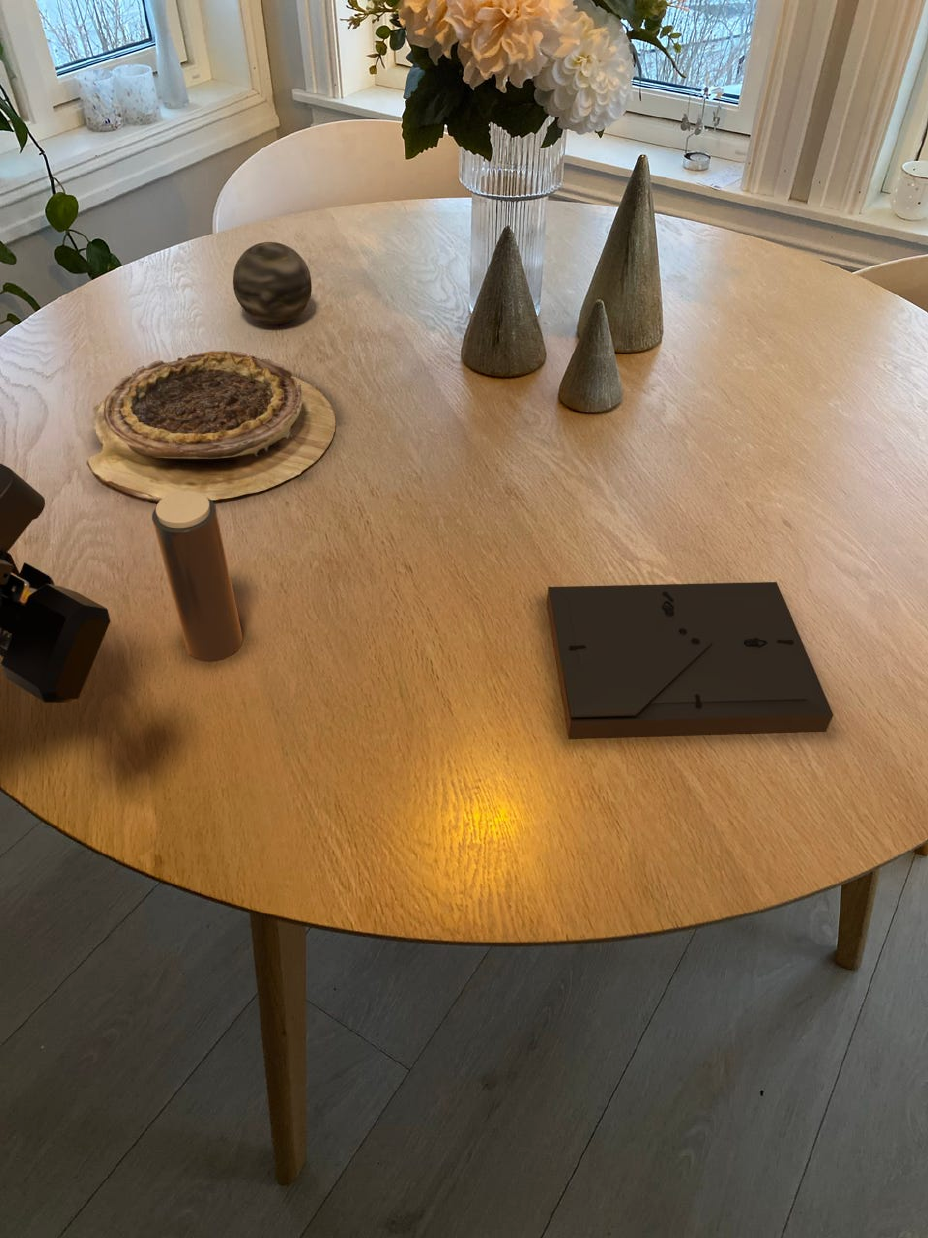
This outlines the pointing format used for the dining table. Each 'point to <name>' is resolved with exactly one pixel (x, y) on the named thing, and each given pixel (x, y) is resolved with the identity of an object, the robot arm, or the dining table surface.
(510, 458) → the dining table surface
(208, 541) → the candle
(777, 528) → the dining table surface
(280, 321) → the decorative stone
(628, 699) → the picture frame
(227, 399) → the pie
